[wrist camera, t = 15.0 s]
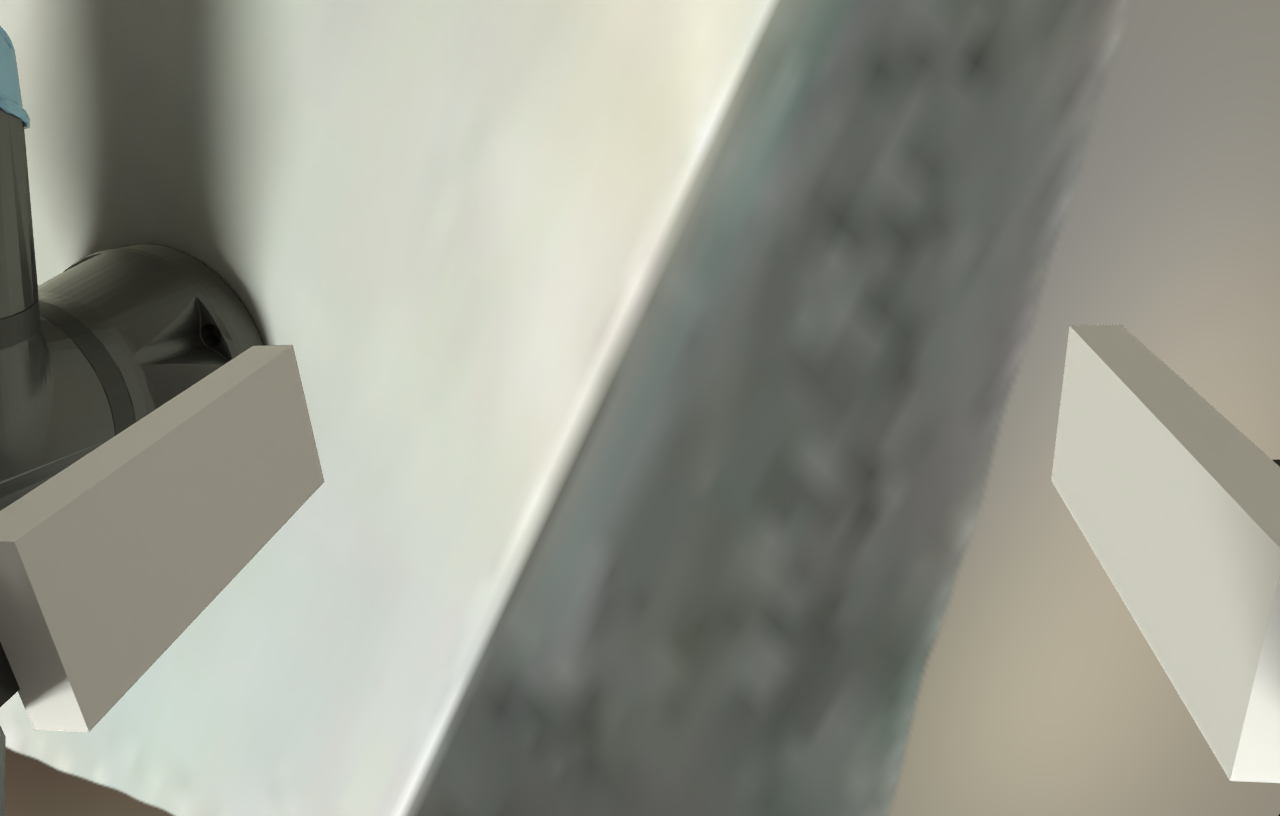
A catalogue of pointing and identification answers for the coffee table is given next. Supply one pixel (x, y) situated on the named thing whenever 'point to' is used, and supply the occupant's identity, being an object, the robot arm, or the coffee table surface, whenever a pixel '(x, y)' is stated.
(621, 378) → the coffee table surface
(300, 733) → the coffee table surface
